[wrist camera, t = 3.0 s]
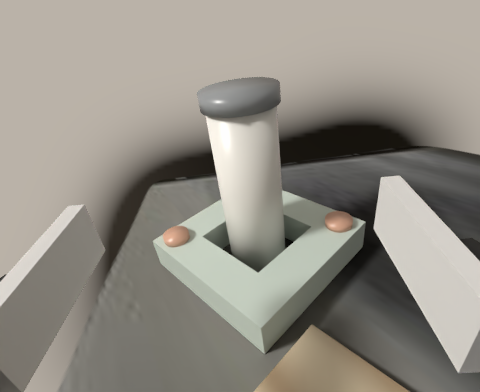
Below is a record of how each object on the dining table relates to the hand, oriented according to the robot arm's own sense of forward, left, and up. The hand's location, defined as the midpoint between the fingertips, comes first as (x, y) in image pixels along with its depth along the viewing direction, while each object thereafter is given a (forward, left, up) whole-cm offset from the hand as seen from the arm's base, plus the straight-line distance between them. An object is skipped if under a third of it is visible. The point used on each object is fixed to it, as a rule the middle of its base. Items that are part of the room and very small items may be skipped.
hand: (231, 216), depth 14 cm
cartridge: (-8, -7, -13) cm, 17 cm away
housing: (-8, -7, -13) cm, 17 cm away
